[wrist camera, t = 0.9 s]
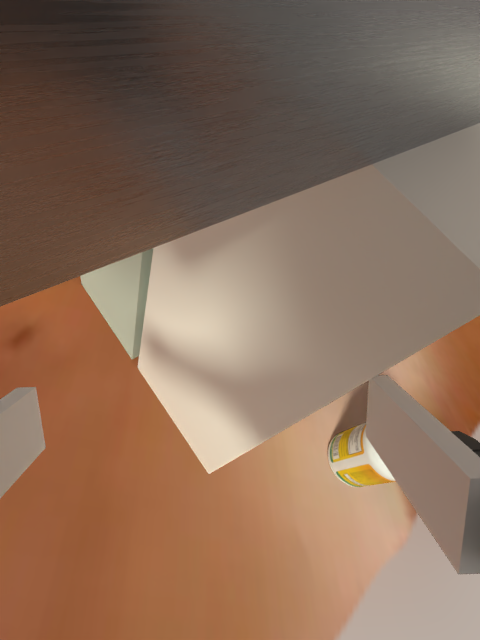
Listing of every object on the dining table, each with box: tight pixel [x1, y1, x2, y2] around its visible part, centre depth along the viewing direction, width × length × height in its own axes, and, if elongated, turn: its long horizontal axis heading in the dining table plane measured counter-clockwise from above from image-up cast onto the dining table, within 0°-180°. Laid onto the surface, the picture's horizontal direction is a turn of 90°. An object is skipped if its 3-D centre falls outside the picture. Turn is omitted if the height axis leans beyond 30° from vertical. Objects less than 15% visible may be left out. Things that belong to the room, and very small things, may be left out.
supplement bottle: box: [328, 422, 396, 487], centre depth 33 cm, size 5×5×10 cm
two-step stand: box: [81, 123, 480, 474], centre depth 27 cm, size 16×23×30 cm
